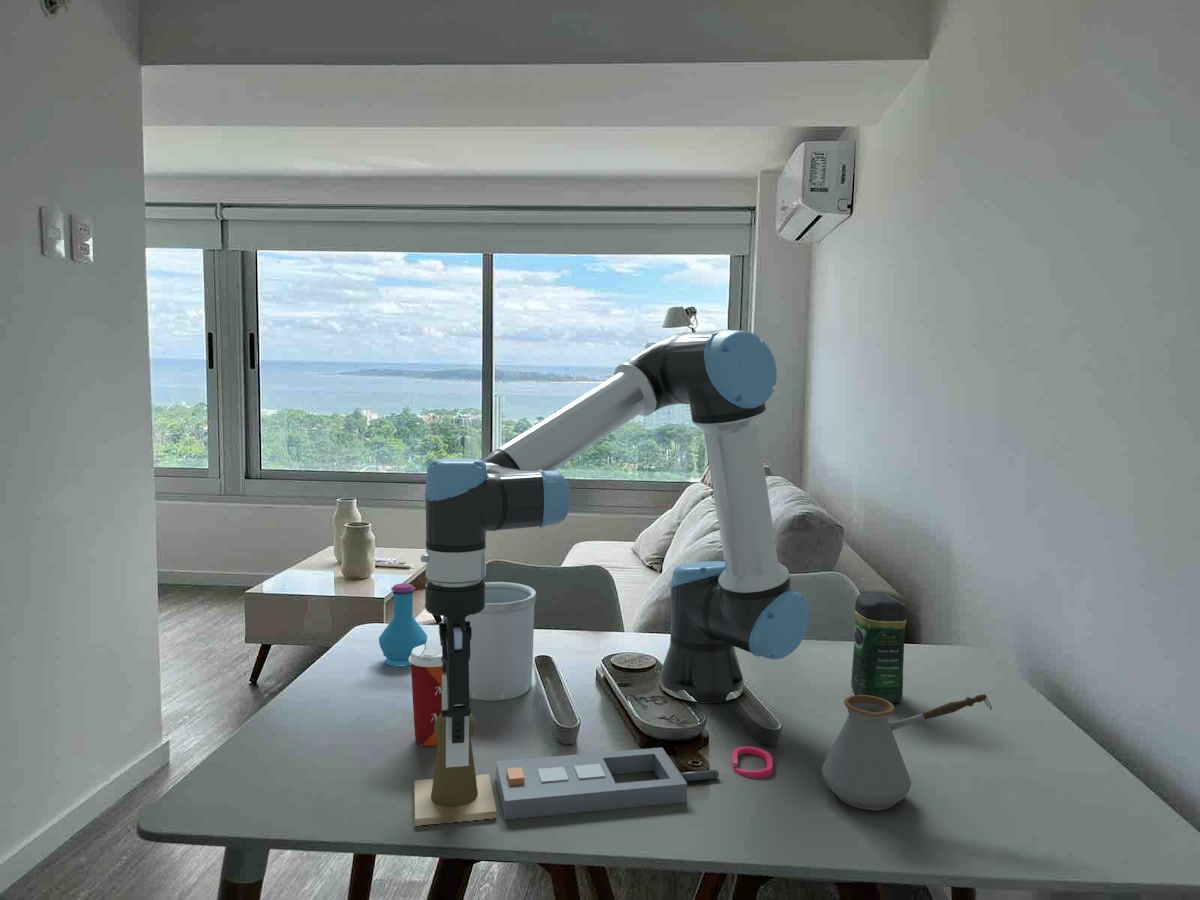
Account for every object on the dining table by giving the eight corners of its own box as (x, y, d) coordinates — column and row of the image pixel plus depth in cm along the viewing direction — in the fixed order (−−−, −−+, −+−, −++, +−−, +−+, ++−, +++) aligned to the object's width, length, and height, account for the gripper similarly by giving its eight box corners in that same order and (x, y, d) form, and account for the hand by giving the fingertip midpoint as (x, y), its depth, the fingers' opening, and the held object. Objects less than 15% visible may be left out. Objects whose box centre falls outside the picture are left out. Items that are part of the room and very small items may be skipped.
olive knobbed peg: (456, 779, 111) (457, 700, 110) (487, 794, 107) (488, 712, 106) (421, 796, 106) (421, 713, 105) (451, 812, 102) (452, 727, 101)
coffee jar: (909, 706, 142) (914, 601, 141) (864, 706, 142) (869, 601, 140) (887, 686, 152) (892, 587, 150) (845, 685, 152) (850, 587, 150)
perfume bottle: (436, 659, 162) (437, 584, 161) (402, 672, 154) (402, 594, 153) (403, 650, 167) (403, 577, 165) (368, 662, 159) (368, 586, 158)
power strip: (704, 760, 120) (705, 738, 120) (733, 797, 109) (734, 773, 109) (495, 778, 113) (496, 755, 113) (504, 820, 102) (505, 794, 102)
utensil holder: (523, 706, 139) (524, 605, 138) (439, 699, 141) (440, 599, 140) (542, 676, 153) (544, 584, 152) (466, 670, 156) (467, 579, 154)
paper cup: (448, 752, 121) (448, 660, 120) (399, 747, 122) (399, 655, 121) (467, 731, 129) (467, 643, 127) (421, 726, 130) (421, 639, 129)
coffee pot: (828, 814, 105) (833, 701, 104) (814, 773, 117) (819, 670, 116) (1001, 827, 103) (1008, 712, 102) (970, 783, 115) (976, 679, 113)
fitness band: (732, 753, 124) (732, 743, 123) (771, 756, 123) (771, 746, 123) (731, 778, 116) (732, 767, 115) (774, 782, 115) (774, 771, 115)
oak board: (489, 781, 112) (489, 774, 112) (496, 818, 103) (496, 811, 103) (414, 787, 110) (414, 780, 110) (414, 826, 100) (414, 819, 100)
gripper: (423, 560, 115) (423, 706, 117) (427, 607, 91) (426, 790, 93) (477, 558, 117) (476, 702, 119) (494, 604, 93) (492, 784, 95)
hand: (454, 741), depth 106 cm, fingers open, 13 cm apart
